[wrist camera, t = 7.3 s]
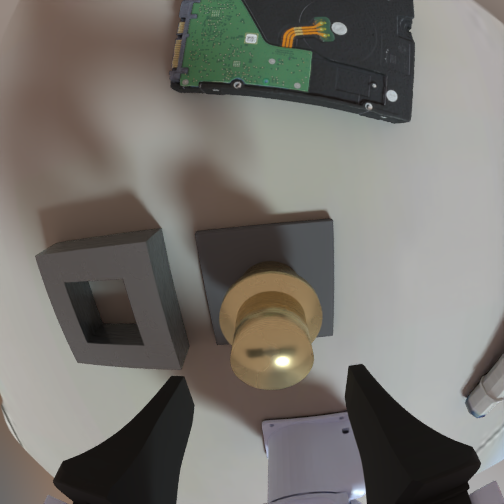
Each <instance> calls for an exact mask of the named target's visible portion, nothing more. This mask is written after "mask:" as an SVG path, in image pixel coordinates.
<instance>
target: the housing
mask: <svg viewBox="0 0 504 504" xmlns="http://www.w3.org/2000/svg"><path fill="white" fill-rule="evenodd" d="M35 257H36V260H37V263H38V267H39V270H40V273H41V276H42V279H43V282H44V285H45V288H46V290H47V293H48V296H49V299H50V301H51V304H52V307H53V309H54V312H55V314H56V317H57V319H58V321H59V324H60V326H61V328H62V331H63V333H64V335H65V337H66V340H67V342H68V344H69V346H70V348H71V350H72V352H73V354H74V357H75V359H76V361H77V363H84V364H93V365H103V366H115V367H128V368H145V369H172V370H181V369H182V366H183V363H184V360H185V357H186V354H187V352H188V349H189V343H188V339H187V335H186V332H185V328H184V324H183V320H182V316H181V313H180V309H179V305H178V301H177V297H176V292H175V288H174V284H173V280H172V275H171V271H170V267H169V262H168V257H167V253H166V248H165V243H164V238H163V233H162V228H159V229H151V230H144V231H136V232H128V233H121V234H114V235H107V236H100V237H93V238H86V239H80V240H73V241H67V242H60V243H56V244H54V245H52V246H51V247H49V248H47V249H46V250H44V251H42V252H41V253H39V254H37V255H36V256H35ZM113 279H123V281H124V284H125V288H126V291H127V294H128V298H129V301H130V304H131V307H132V310H133V313H134V316H135V319H136V322H137V324H103V323H102V320H101V318H100V315H99V312H98V310H97V307H96V304H95V301H94V298H93V295H92V292H91V289H90V286H89V283H88V281H98V280H113Z"/></svg>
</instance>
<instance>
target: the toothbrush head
mask: <svg viewBox="0 0 504 504" xmlns="http://www.w3.org/2000/svg"><path fill="white" fill-rule="evenodd" d="M503 400H504V353H503V355H502V356H501V357H500V359H499V360H498V361H497V362H496V364H495V365H494V366H493V367H492V369H491V370H490V371H489V372H488V374H487V375H484V376H482V377H481V380H480V383H479V384H478V385H477V386H476V388H475V389H474V390H473V391H472V392H471V394H470V395H469V396H468V397H467V399H466V402H465V404H466V407H467V409H468V411H469V413H470V414H472V415H473V416H474V417H476V418H480V417H484V416H485V415H486V414H487V413H488V412H489V411H490V410H491V409H492V408H493V407H494V406H495V405H496V404H497V403H499V402H502V401H503Z"/></svg>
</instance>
